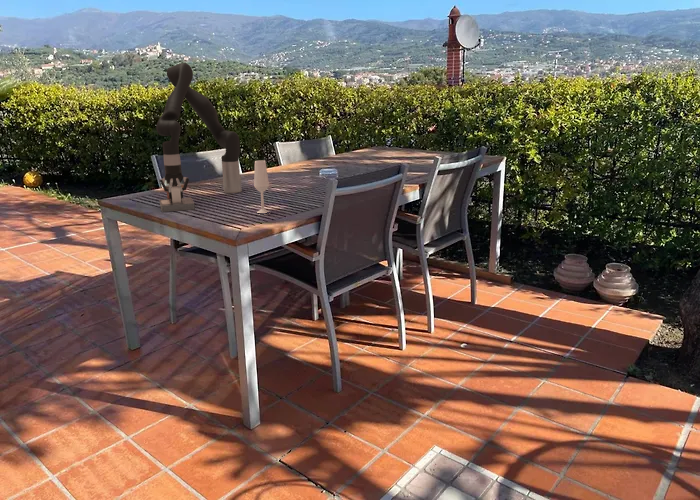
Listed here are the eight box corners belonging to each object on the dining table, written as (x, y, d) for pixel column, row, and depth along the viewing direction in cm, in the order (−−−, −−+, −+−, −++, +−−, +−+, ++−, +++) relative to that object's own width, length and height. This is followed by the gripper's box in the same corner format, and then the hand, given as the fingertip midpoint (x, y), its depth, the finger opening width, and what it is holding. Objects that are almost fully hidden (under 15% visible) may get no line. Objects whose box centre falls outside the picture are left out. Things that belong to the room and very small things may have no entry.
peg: (181, 204, 250) (179, 186, 247) (181, 206, 246) (179, 187, 243) (172, 205, 248) (170, 187, 245) (173, 206, 245) (171, 188, 242)
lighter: (182, 200, 264) (180, 181, 261) (178, 201, 261) (176, 182, 258) (169, 199, 267) (167, 180, 263) (165, 200, 263) (163, 181, 260)
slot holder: (191, 203, 257) (190, 196, 256) (194, 209, 244) (194, 202, 243) (160, 205, 251) (159, 199, 250) (161, 212, 238) (161, 205, 237)
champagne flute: (272, 211, 239) (269, 160, 231) (267, 214, 232) (264, 162, 225) (259, 210, 240) (256, 159, 233) (253, 214, 234) (250, 161, 227)
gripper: (187, 161, 247) (190, 196, 252) (156, 163, 242) (160, 199, 247) (188, 163, 240) (192, 199, 245) (157, 165, 235) (161, 202, 240)
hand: (176, 199), depth 246 cm, fingers closed on peg, 3 cm apart
